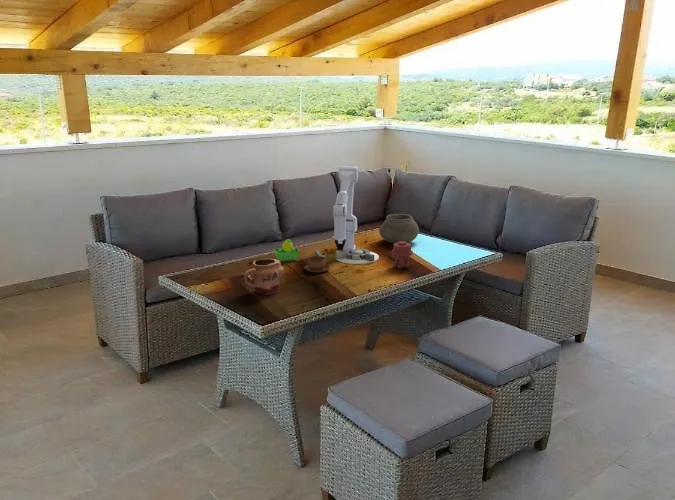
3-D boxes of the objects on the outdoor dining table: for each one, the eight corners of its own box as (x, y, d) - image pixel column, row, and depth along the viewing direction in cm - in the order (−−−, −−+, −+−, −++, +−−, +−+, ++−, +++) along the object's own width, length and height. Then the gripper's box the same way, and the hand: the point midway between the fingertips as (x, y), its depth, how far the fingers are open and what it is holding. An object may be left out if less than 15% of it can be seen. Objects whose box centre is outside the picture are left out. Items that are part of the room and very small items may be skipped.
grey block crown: (338, 251, 316) (338, 244, 315) (371, 252, 314) (371, 245, 313) (335, 258, 304) (335, 251, 303) (368, 259, 302) (368, 252, 301)
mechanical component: (391, 263, 299) (411, 264, 298) (391, 269, 289) (412, 270, 288) (391, 239, 296) (412, 239, 295) (391, 244, 286) (413, 245, 285)
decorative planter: (256, 302, 248) (255, 269, 244) (237, 295, 256) (235, 264, 252) (291, 289, 262) (290, 258, 259) (271, 284, 270) (270, 254, 266)
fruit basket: (295, 256, 313) (295, 235, 310) (300, 261, 305) (299, 239, 302) (274, 258, 309) (273, 237, 306) (277, 263, 301) (277, 241, 298)
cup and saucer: (299, 270, 289) (299, 258, 288) (317, 265, 298) (317, 253, 296) (316, 276, 281) (316, 263, 280) (334, 270, 289) (334, 258, 288)
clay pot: (407, 249, 324) (407, 222, 320) (372, 244, 335) (372, 217, 331) (424, 240, 341) (425, 214, 337) (391, 236, 352) (391, 210, 348)
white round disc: (338, 251, 321) (338, 244, 320) (380, 252, 318) (380, 245, 317) (332, 263, 300) (332, 256, 299) (377, 264, 297) (377, 257, 296)
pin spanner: (315, 252, 321) (315, 248, 320) (321, 251, 322) (321, 247, 321) (320, 259, 308) (320, 254, 308) (326, 258, 309) (326, 254, 308)
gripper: (332, 224, 314) (332, 250, 318) (332, 231, 300) (332, 257, 304) (345, 224, 314) (345, 250, 318) (346, 231, 300) (346, 257, 304)
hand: (340, 253), depth 311 cm, fingers closed
